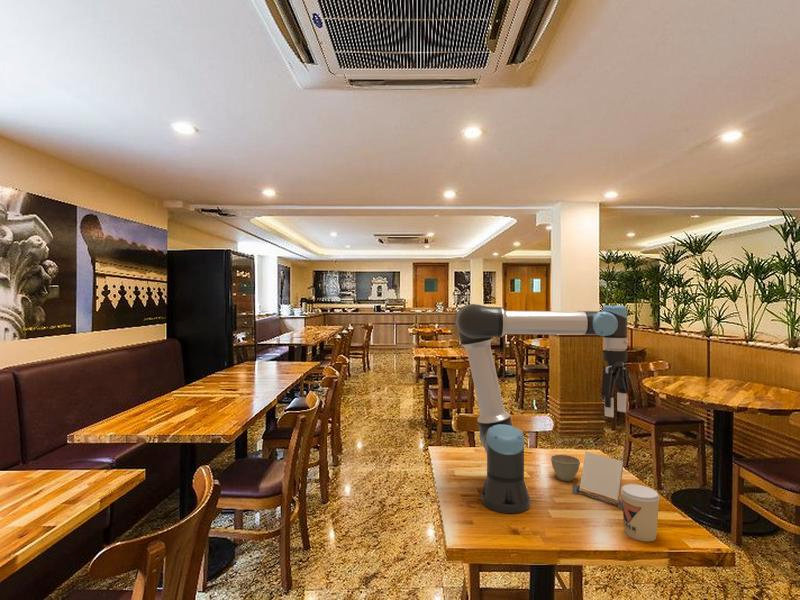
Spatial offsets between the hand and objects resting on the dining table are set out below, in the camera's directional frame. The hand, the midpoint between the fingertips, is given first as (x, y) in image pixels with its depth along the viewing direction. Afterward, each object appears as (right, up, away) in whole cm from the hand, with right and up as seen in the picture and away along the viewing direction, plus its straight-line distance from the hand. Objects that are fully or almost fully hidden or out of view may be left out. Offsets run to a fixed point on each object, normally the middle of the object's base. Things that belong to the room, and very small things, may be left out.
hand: (615, 414), depth 151 cm
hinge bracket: (-11, -26, -10) cm, 29 cm away
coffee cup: (-8, -26, -30) cm, 41 cm away
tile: (-8, -18, -7) cm, 21 cm away
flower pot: (-14, -26, +8) cm, 31 cm away
